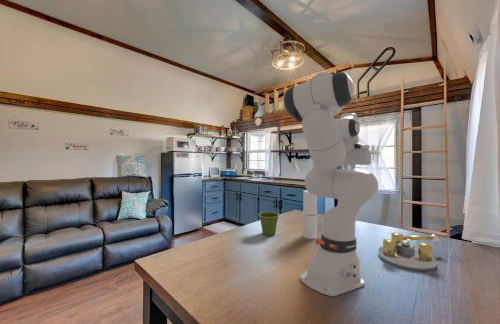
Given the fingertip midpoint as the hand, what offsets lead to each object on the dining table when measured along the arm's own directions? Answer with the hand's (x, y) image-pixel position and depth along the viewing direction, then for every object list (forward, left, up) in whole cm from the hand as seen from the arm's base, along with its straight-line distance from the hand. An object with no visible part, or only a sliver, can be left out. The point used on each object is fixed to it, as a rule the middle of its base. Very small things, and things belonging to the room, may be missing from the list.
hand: (349, 173), depth 112 cm
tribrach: (+2, -24, -35) cm, 43 cm away
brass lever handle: (+13, -24, -33) cm, 43 cm away
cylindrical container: (-8, +18, -35) cm, 40 cm away
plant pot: (-23, +35, -35) cm, 55 cm away
